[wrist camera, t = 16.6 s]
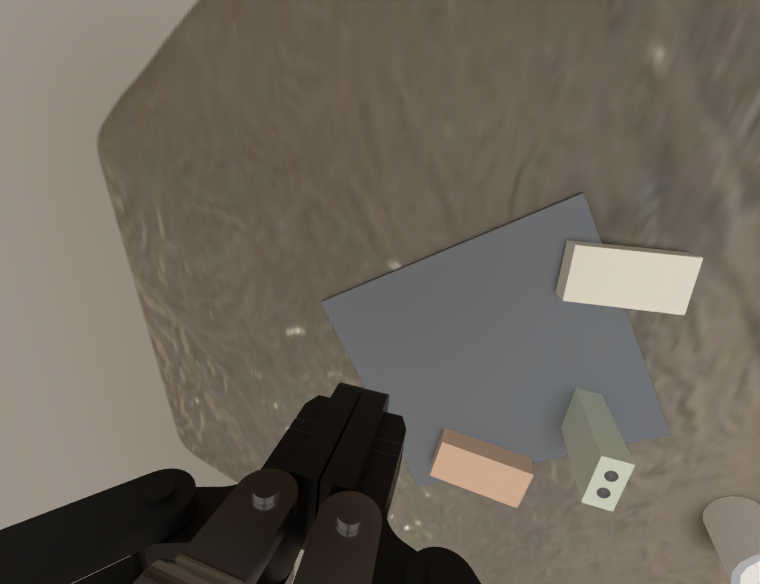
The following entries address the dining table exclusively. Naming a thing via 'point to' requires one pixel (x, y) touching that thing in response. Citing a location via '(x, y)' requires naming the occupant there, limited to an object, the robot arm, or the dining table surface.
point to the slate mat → (495, 343)
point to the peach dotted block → (482, 467)
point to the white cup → (736, 536)
